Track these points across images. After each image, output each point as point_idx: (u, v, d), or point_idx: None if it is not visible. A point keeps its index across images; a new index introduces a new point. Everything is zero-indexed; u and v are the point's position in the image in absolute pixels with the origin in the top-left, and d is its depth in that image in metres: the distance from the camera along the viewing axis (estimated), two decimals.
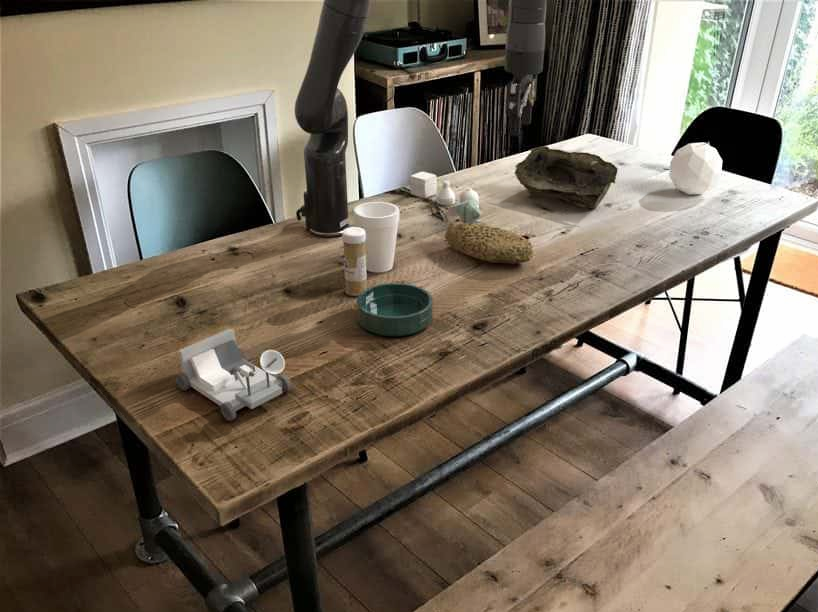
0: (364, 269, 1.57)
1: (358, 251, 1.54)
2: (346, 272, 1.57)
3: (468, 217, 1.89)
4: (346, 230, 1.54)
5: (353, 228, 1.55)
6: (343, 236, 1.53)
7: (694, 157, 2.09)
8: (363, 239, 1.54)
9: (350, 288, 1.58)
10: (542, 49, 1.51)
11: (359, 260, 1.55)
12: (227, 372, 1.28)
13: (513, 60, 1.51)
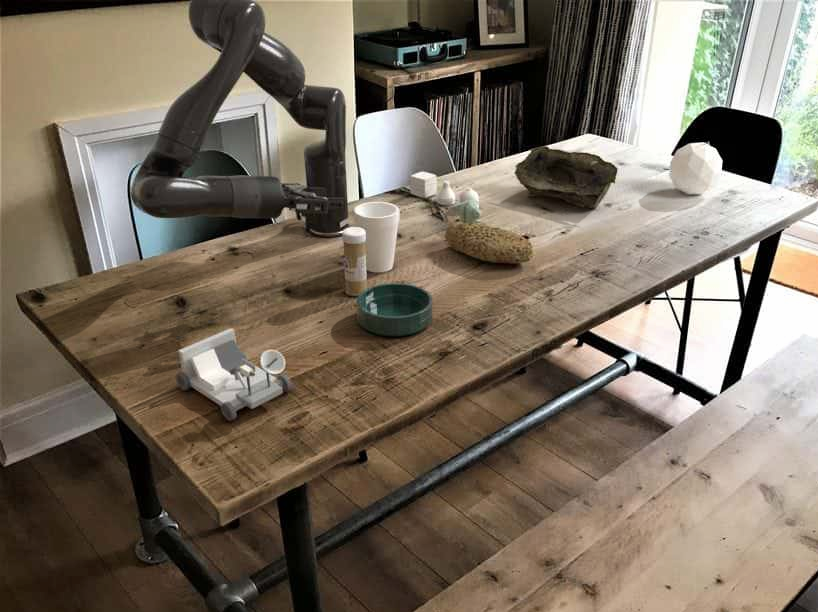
0: (364, 269, 1.57)
1: (358, 251, 1.54)
2: (346, 272, 1.57)
3: (468, 217, 1.89)
4: (346, 230, 1.54)
5: (353, 228, 1.55)
6: (343, 236, 1.53)
7: (694, 157, 2.09)
8: (363, 239, 1.54)
9: (350, 288, 1.58)
10: None
11: (359, 260, 1.55)
12: (227, 372, 1.28)
13: None
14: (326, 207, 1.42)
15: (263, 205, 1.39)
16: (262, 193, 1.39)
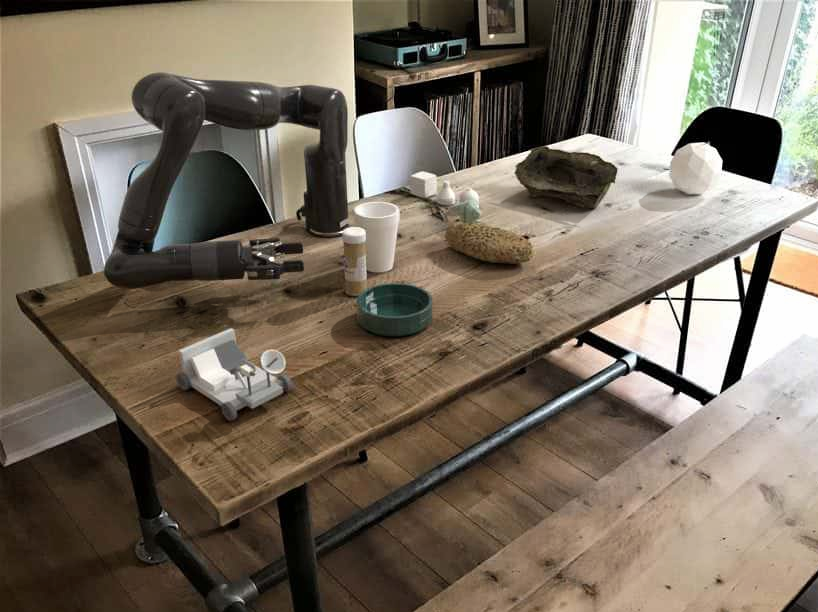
0: (364, 269, 1.57)
1: (358, 251, 1.54)
2: (346, 272, 1.57)
3: (468, 217, 1.89)
4: (346, 230, 1.54)
5: (353, 228, 1.55)
6: (343, 236, 1.53)
7: (694, 157, 2.09)
8: (363, 239, 1.54)
9: (350, 288, 1.58)
10: None
11: (359, 260, 1.55)
12: (227, 372, 1.28)
13: None
14: (277, 273, 1.48)
15: (221, 271, 1.49)
16: (218, 261, 1.48)
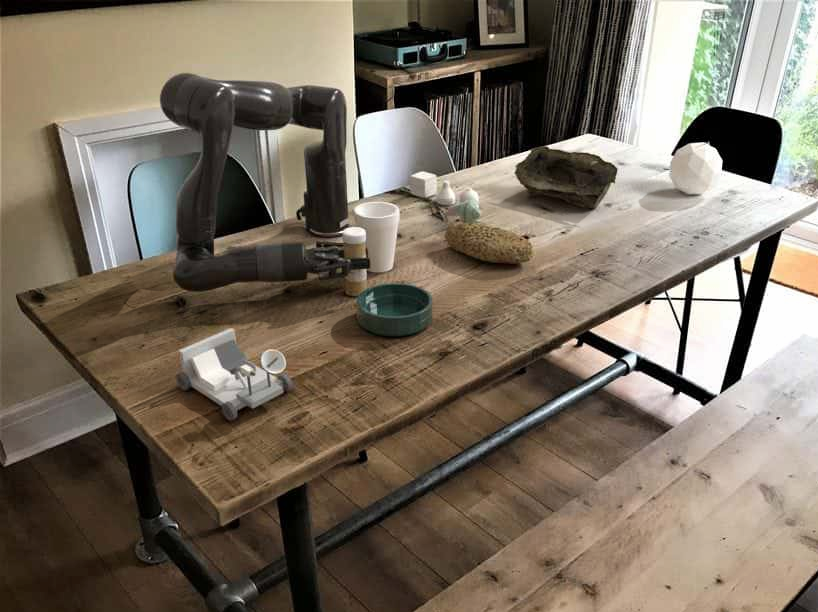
0: (364, 269, 1.57)
1: (358, 251, 1.54)
2: None
3: (468, 217, 1.89)
4: (346, 230, 1.54)
5: (353, 228, 1.55)
6: (343, 236, 1.53)
7: (694, 157, 2.09)
8: (363, 239, 1.53)
9: (350, 288, 1.58)
10: None
11: None
12: (228, 372, 1.28)
13: None
14: (346, 270, 1.52)
15: (286, 273, 1.52)
16: (283, 262, 1.51)
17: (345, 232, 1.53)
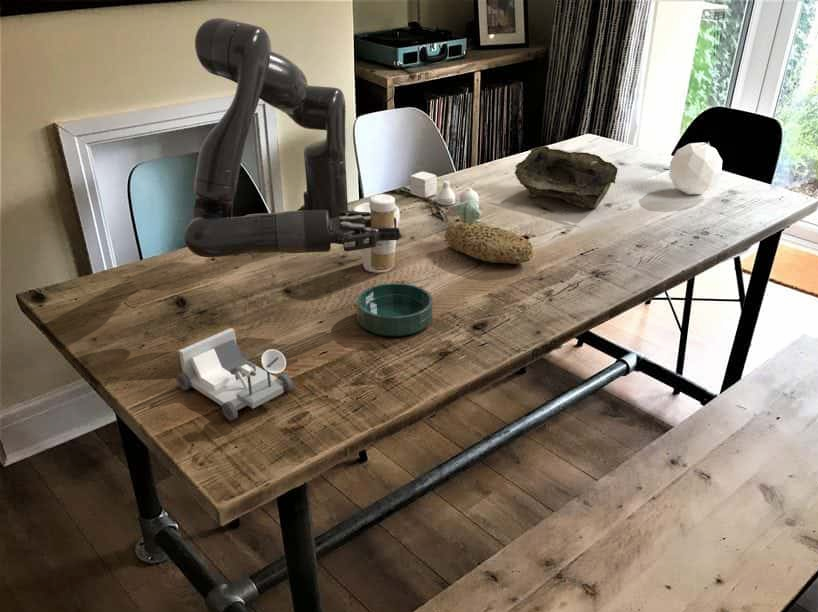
0: (392, 241, 1.44)
1: (386, 221, 1.41)
2: None
3: (468, 217, 1.89)
4: (374, 197, 1.41)
5: (381, 195, 1.42)
6: (371, 204, 1.40)
7: (694, 157, 2.09)
8: (392, 207, 1.41)
9: (377, 261, 1.45)
10: None
11: None
12: (228, 372, 1.28)
13: None
14: (373, 240, 1.39)
15: (308, 242, 1.39)
16: (306, 231, 1.38)
17: (373, 199, 1.40)
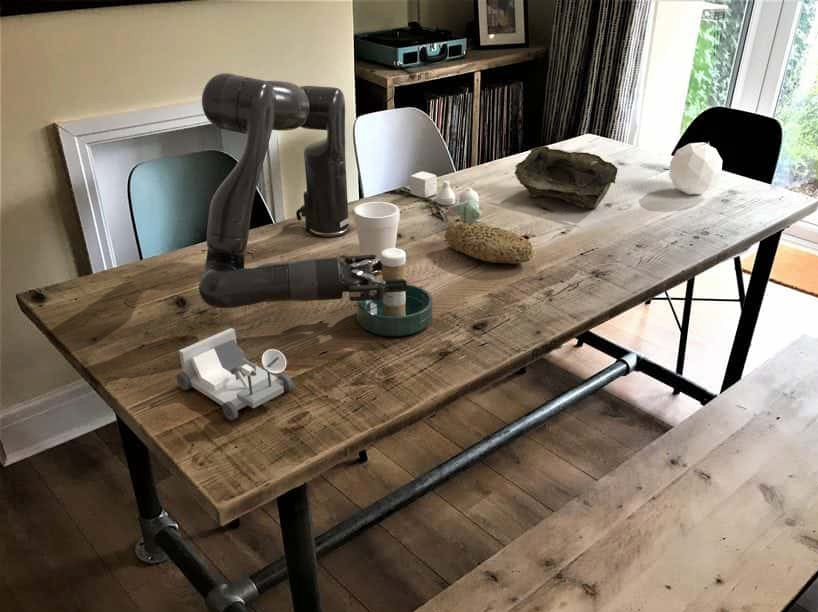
0: (403, 293, 1.47)
1: (398, 274, 1.44)
2: (384, 296, 1.47)
3: (468, 217, 1.89)
4: (385, 252, 1.44)
5: (392, 249, 1.45)
6: (382, 258, 1.43)
7: (694, 157, 2.09)
8: (403, 261, 1.43)
9: (388, 313, 1.48)
10: None
11: None
12: (228, 372, 1.28)
13: None
14: (381, 293, 1.40)
15: (320, 291, 1.41)
16: (318, 280, 1.40)
17: (384, 254, 1.43)
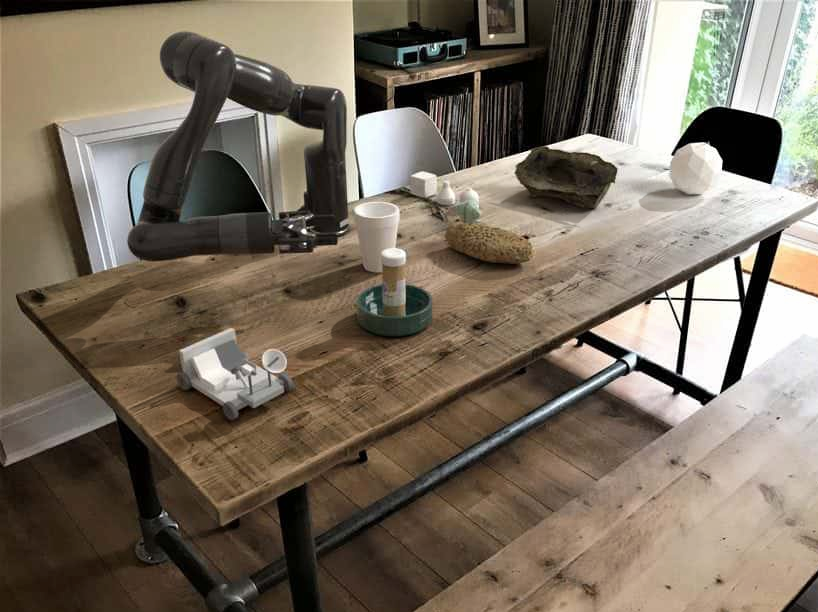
0: (403, 293, 1.47)
1: (398, 274, 1.44)
2: (384, 296, 1.47)
3: (468, 217, 1.89)
4: (385, 252, 1.44)
5: (392, 249, 1.45)
6: (382, 258, 1.43)
7: (694, 157, 2.09)
8: (403, 261, 1.43)
9: (388, 313, 1.48)
10: None
11: (399, 283, 1.45)
12: (228, 372, 1.28)
13: None
14: (310, 246, 1.40)
15: (250, 245, 1.41)
16: (248, 233, 1.40)
17: (384, 254, 1.43)
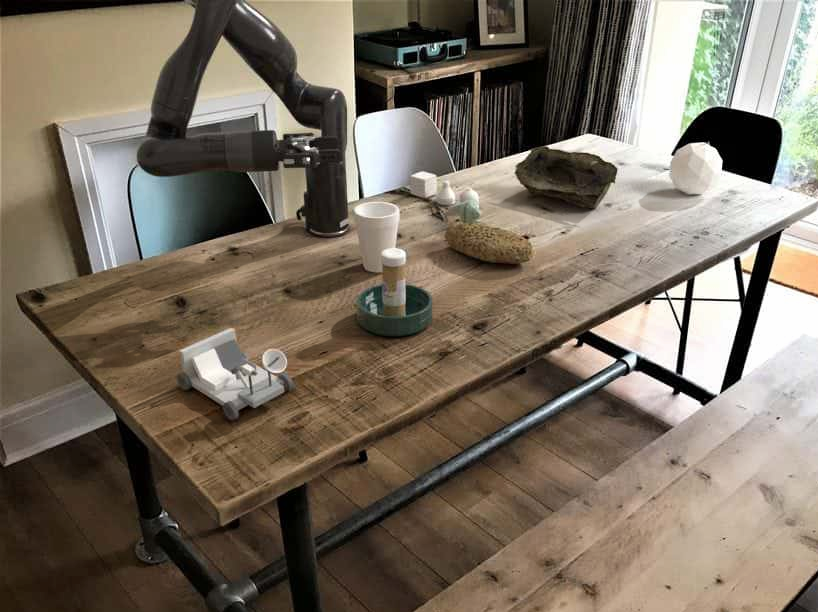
0: (403, 293, 1.47)
1: (398, 274, 1.44)
2: (384, 296, 1.47)
3: (468, 217, 1.89)
4: (385, 252, 1.44)
5: (392, 249, 1.45)
6: (382, 258, 1.43)
7: (694, 157, 2.09)
8: (403, 261, 1.43)
9: (388, 313, 1.48)
10: None
11: (399, 283, 1.45)
12: (228, 371, 1.28)
13: None
14: (313, 161, 1.44)
15: (255, 160, 1.45)
16: (253, 149, 1.44)
17: (384, 254, 1.43)
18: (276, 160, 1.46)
